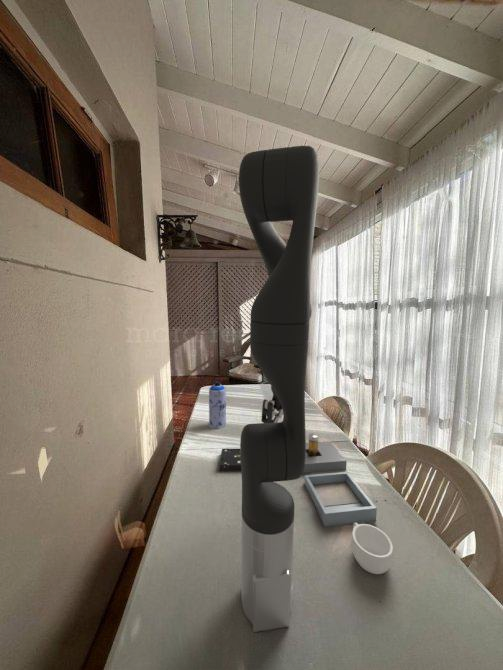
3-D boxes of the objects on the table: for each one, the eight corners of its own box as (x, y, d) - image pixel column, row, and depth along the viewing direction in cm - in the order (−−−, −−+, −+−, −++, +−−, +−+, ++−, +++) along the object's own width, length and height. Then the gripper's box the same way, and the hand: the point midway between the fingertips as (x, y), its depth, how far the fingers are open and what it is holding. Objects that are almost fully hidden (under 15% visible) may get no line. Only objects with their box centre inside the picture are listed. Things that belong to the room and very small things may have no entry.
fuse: (319, 463, 88) (320, 437, 87) (310, 463, 88) (310, 438, 87) (315, 457, 91) (316, 433, 90) (306, 458, 91) (307, 433, 90)
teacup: (400, 577, 52) (402, 552, 51) (366, 586, 50) (368, 561, 50) (367, 534, 62) (368, 513, 61) (338, 541, 60) (339, 519, 59)
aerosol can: (219, 430, 113) (218, 385, 111) (205, 426, 117) (204, 382, 115) (229, 423, 120) (229, 381, 118) (216, 419, 124) (216, 378, 122)
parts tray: (376, 520, 65) (376, 508, 65) (324, 526, 64) (325, 513, 63) (346, 482, 80) (347, 471, 79) (304, 486, 78) (304, 475, 78)
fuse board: (346, 472, 85) (346, 460, 84) (292, 476, 82) (292, 465, 82) (329, 452, 97) (330, 441, 96) (282, 455, 94) (282, 445, 94)
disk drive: (219, 473, 85) (264, 472, 85) (219, 465, 84) (264, 464, 85) (221, 455, 95) (262, 454, 96) (221, 448, 95) (262, 447, 95)
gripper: (277, 383, 60) (274, 448, 63) (314, 372, 69) (310, 429, 72) (256, 375, 66) (254, 434, 68) (292, 366, 75) (289, 418, 78)
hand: (283, 431), depth 70 cm, fingers open, 8 cm apart
